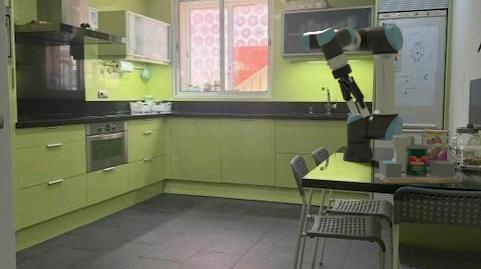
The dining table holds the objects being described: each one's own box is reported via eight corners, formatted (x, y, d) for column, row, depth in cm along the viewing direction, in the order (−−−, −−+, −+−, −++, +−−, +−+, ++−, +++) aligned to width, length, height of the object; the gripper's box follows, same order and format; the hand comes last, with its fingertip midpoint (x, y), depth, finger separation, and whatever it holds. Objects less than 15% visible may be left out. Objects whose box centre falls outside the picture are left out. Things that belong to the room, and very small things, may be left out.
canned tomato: (413, 177, 176) (414, 148, 175) (400, 174, 184) (401, 146, 183) (431, 176, 178) (432, 147, 177) (418, 173, 186) (419, 145, 185)
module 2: (429, 173, 185) (430, 160, 185) (445, 173, 185) (445, 160, 185) (438, 176, 177) (438, 163, 177) (454, 176, 177) (454, 163, 177)
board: (374, 176, 188) (374, 174, 188) (444, 176, 188) (444, 173, 188) (385, 183, 174) (385, 180, 174) (460, 182, 174) (460, 180, 174)
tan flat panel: (375, 175, 186) (375, 173, 186) (446, 174, 186) (446, 172, 186) (383, 179, 176) (383, 177, 176) (458, 179, 176) (458, 177, 176)
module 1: (379, 173, 185) (379, 160, 185) (394, 173, 185) (394, 160, 185) (385, 177, 177) (385, 163, 177) (401, 177, 177) (401, 163, 177)
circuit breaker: (429, 173, 196) (430, 137, 195) (393, 172, 199) (394, 136, 198) (425, 170, 204) (426, 135, 202) (391, 169, 206) (392, 135, 205)
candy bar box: (420, 165, 217) (421, 130, 216) (423, 164, 222) (424, 129, 220) (446, 167, 211) (448, 131, 210) (448, 166, 215) (450, 130, 214)
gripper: (323, 72, 198) (343, 118, 200) (339, 68, 173) (362, 121, 175) (339, 65, 198) (359, 110, 200) (357, 60, 173) (380, 112, 175)
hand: (361, 115), depth 188 cm, fingers open, 13 cm apart
